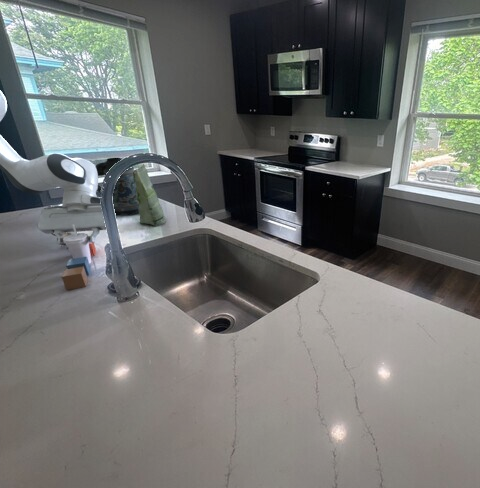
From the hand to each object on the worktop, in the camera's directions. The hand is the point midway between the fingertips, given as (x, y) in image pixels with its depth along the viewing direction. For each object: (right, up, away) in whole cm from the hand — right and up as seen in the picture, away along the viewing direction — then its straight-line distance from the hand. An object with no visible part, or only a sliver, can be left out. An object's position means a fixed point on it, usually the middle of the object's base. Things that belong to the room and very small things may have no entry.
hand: (76, 243), depth 95 cm
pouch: (+3, +9, +38) cm, 39 cm away
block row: (+1, -8, +1) cm, 8 cm away
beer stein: (-17, +16, +49) cm, 54 cm away
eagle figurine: (-16, -1, +15) cm, 22 cm away
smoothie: (-1, -7, +4) cm, 8 cm away
